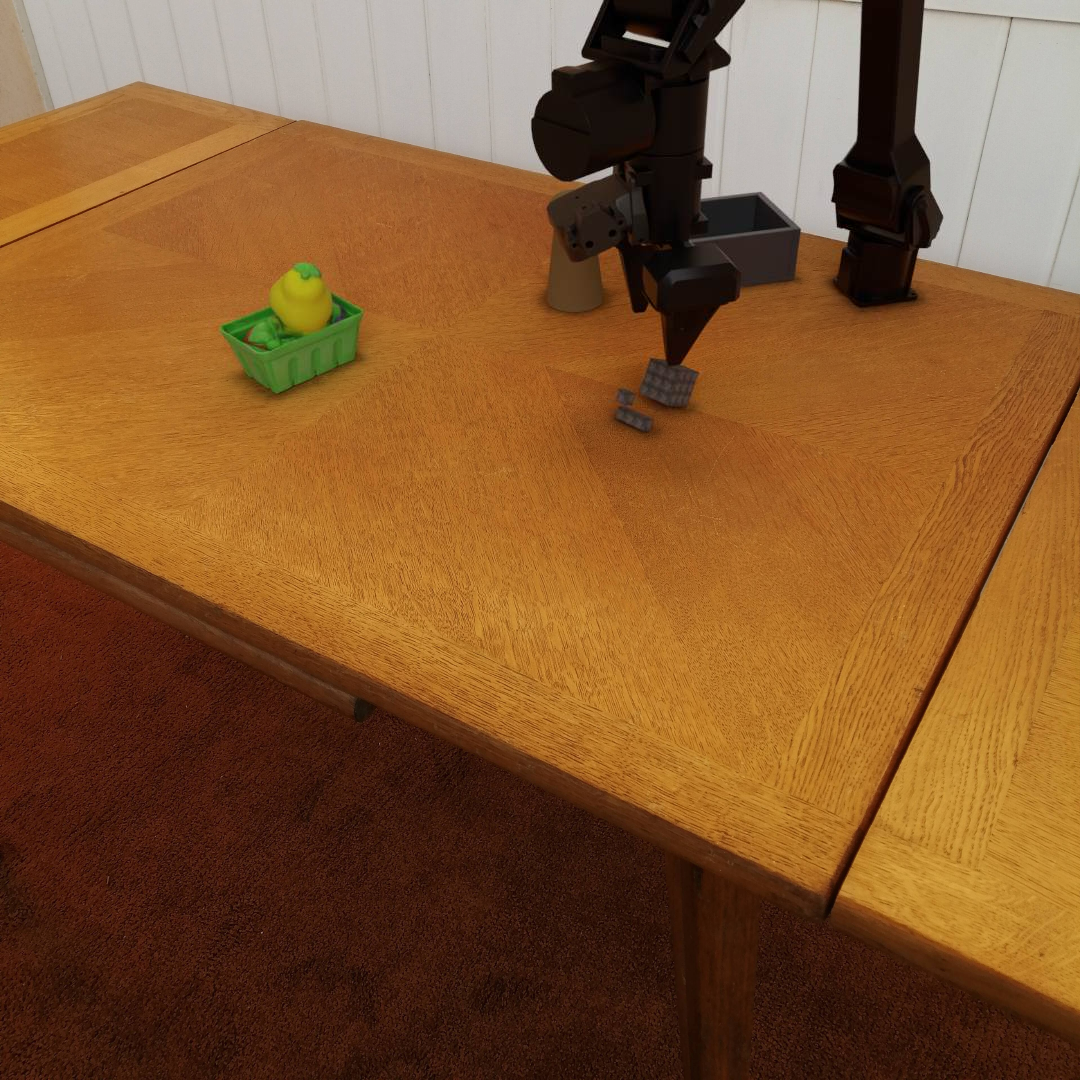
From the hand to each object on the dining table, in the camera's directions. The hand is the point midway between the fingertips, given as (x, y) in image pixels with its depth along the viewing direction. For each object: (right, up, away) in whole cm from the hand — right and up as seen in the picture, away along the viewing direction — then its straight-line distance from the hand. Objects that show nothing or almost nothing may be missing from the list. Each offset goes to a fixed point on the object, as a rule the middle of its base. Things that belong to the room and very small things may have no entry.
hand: (655, 337), depth 82 cm
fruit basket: (-32, -1, +13) cm, 34 cm away
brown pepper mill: (-6, +8, +22) cm, 24 cm away
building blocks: (0, -6, +5) cm, 8 cm away
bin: (+9, +13, +27) cm, 31 cm away
